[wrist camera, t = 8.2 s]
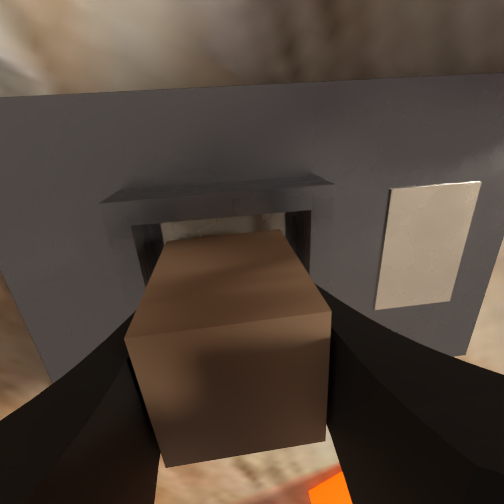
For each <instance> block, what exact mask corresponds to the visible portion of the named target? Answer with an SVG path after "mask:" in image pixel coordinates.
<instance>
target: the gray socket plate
mask: <svg viewBox="0 0 504 504" xmlns="http://www.w3.org/2000/svg"><path fill="white" fill-rule="evenodd" d="M274 229H280V230H281V231H282V233H283V235H284V236H285V238H286V239H287V241H288V242H289V244H290V246H291V247H292V249H293V250H294V252H295V254H296V255H297V257H298V258H299V260H300V262H301V263H302V265H303V266H304V268H305V269H306V271H307V273H308V274H309V276H310V277H311V279H312V281H313V282H314V283H315V284H317V285H318V286H319V287H321V288H322V289H324V290H325V291H327V292H328V293H330V294H331V295H333V296H334V297H336V298H337V299H339V300H340V301H342V302H343V303H345V304H347V305H348V306H350V307H351V308H353V309H355V310H356V311H358V312H360V313H361V314H363V315H365V316H366V317H368V318H370V319H372V320H374V321H375V322H377V323H379V324H381V325H383V326H384V327H386V328H388V329H390V330H392V331H394V332H396V333H398V334H401V335H403V336H405V337H407V338H409V339H411V340H413V341H415V342H418V343H420V344H422V345H425V346H427V347H429V348H432V349H434V350H437V351H439V352H442V353H444V354H447V355H449V356H452V357H453V356H461V355H466V351H467V348H468V345H469V342H470V339H471V336H472V333H473V330H474V327H475V323H476V320H477V317H478V314H479V311H480V308H481V305H482V302H483V299H484V296H485V292H486V289H487V286H488V283H489V280H490V277H491V274H492V271H493V268H494V265H495V261H496V258H497V255H498V252H499V249H500V246H501V243H502V240H503V237H504V72H503V73H483V74H463V75H443V76H422V77H402V78H382V79H362V80H342V81H322V82H302V83H282V84H262V85H242V86H222V87H202V88H182V89H162V90H142V91H122V92H102V93H82V94H62V95H42V96H21V97H1V98H0V271H1V273H2V275H3V277H4V279H5V282H6V284H7V286H8V288H9V290H10V292H11V294H12V297H13V299H14V301H15V303H16V305H17V307H18V309H19V312H20V314H21V316H22V318H23V320H24V322H25V324H26V327H27V329H28V331H29V333H30V335H31V337H32V339H33V342H34V344H35V346H36V348H37V350H38V352H39V354H40V357H41V359H42V361H43V363H44V365H45V367H46V369H47V372H48V374H49V376H50V378H51V380H52V382H53V383H54V382H56V381H57V380H58V379H60V378H61V377H62V376H64V375H65V374H66V373H67V372H69V371H70V370H71V369H72V368H74V367H75V366H76V365H77V364H78V363H80V362H81V361H82V360H83V359H84V358H85V357H86V356H87V355H89V354H90V353H91V352H92V351H93V350H94V349H95V348H97V347H98V346H99V345H100V344H101V343H102V342H103V341H104V340H106V339H107V338H108V337H109V336H110V335H111V334H112V333H113V332H114V331H115V330H116V329H117V328H118V327H119V326H120V325H121V324H122V323H123V322H124V321H125V320H127V319H128V318H129V317H130V316H131V315H132V314H133V313H134V312H135V311H136V310H137V307H138V305H139V303H140V301H141V298H142V296H143V294H144V291H145V289H146V287H147V284H148V282H149V280H150V278H151V275H152V273H153V271H154V268H155V266H156V264H157V261H158V259H159V257H160V255H161V252H162V250H163V248H164V245H165V243H166V241H173V240H182V239H192V238H201V237H210V236H219V235H228V234H238V233H247V232H256V231H265V230H274Z"/></svg>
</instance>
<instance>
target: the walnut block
mask: <svg viewBox="0 0 504 504" xmlns="http://www.w3.org/2000/svg"><path fill="white" fill-rule="evenodd" d="M331 315H332V311H331V309H330V308H329V306H328V304H327V303H326V301H325V300H324V298H323V296H322V295H321V293H320V292H319V290H318V289H317V287H316V285H315V284H314V282H313V281H312V279H311V277H310V276H309V274H308V273H307V271H306V269H305V268H304V266H303V265H302V263H301V262H300V260H299V258H298V257H297V255H296V254H295V252H294V250H293V249H292V247H291V246H290V244H289V242H288V241H287V239H286V238H285V236H284V235H283V233H282V231H281V230H280V229H274V230H265V231H256V232H247V233H238V234H228V235H219V236H210V237H201V238H192V239H182V240H173V241H166V243H165V245H164V248H163V250H162V252H161V255H160V257H159V259H158V261H157V264H156V266H155V268H154V271H153V273H152V275H151V278H150V280H149V282H148V284H147V287H146V289H145V291H144V294H143V296H142V298H141V301H140V303H139V305H138V307H137V310H136V312H135V314H134V317H133V319H132V321H131V324H130V326H129V328H128V330H127V333H126V335H125V337H124V340H125V344H126V347H127V350H128V353H129V356H130V359H131V362H132V365H133V368H134V371H135V374H136V377H137V381H138V384H139V387H140V390H141V393H142V396H143V399H144V402H145V405H146V408H147V411H148V414H149V418H150V421H151V424H152V427H153V430H154V433H155V436H156V439H157V442H158V445H159V448H160V451H161V455H162V458H163V461H164V464H165V467H166V468H168V467H174V466H180V465H186V464H192V463H198V462H204V461H210V460H216V459H222V458H228V457H233V456H239V455H245V454H251V453H257V452H263V451H269V450H275V449H281V448H287V447H293V446H299V445H305V444H311V443H317V442H323V441H325V437H326V416H327V396H328V376H329V356H330V336H331Z"/></svg>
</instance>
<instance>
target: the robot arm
mask: <svg viewBox="0 0 504 504" xmlns="http://www.w3.org/2000/svg"><path fill="white" fill-rule="evenodd" d="M314 284H315V283H314ZM315 285H316V287H317V289H318V290H319V292H320V293H321V295H322V296H323V298H324V300H325V301H326V303H327V304H328V306H329V308H330V309H331V311H332V315H331V336H330V356H329V376H328V396H327V416H326V424H327V427H328V429H329V432H330V434H331V437H332V440H333V444H334V447H335V450H336V453H337V456H338V459H339V462H340V465H341V469H342V472H343V475H344V478H345V482H346V485H347V488H348V491H349V495H350V498H351V501H352V504H504V375H503V374H500V373H496V372H493V371H490V370H487V369H484V368H482V367H479V366H476V365H473V364H470V363H467V362H465V361H462V360H460V359H457V358H454V357H452V356H449V355H447V354H444V353H442V352H439V351H437V350H434V349H432V348H429V347H427V346H425V345H422V344H420V343H418V342H415V341H413V340H411V339H409V338H407V337H405V336H403V335H401V334H398V333H396V332H394V331H392V330H390V329H388V328H386V327H384V326H383V325H381V324H379V323H377V322H375V321H374V320H372V319H370V318H368V317H366V316H365V315H363V314H361V313H360V312H358V311H356V310H355V309H353V308H351V307H350V306H348V305H347V304H345V303H343V302H342V301H340V300H339V299H337V298H336V297H334V296H333V295H331V294H330V293H328V292H327V291H325V290H324V289H322V288H321V287H319V286H318V285H317V284H315ZM135 312H136V311H135ZM135 312H134V313H133V314H132V315H131V316H130V317H129V318H128V319H127V320H125V321H124V322H123V323H122V324H121V325H120V326H119V327H118V328H117V329H116V330H115V331H114V332H113V333H112V334H111V335H110V336H109V337H108V338H107V339H106V340H104V341H103V342H102V343H101V344H100V345H99V346H98V347H97V348H95V349H94V350H93V351H92V352H91V353H90V354H89V355H87V356H86V357H85V358H84V359H83V360H82V361H81V362H80V363H78V364H77V365H76V366H75V367H74V368H72V369H71V370H70V371H69V372H67V373H66V374H65V375H64V376H62V377H61V378H60V379H58V380H57V381H56V382H54V383H53V384H52V385H50V386H49V387H48V388H47V389H45V390H44V391H43V392H41V393H40V394H39V395H37V396H36V397H34V398H33V399H32V400H30V401H29V402H27V403H26V404H24V405H23V406H21V407H20V408H18V409H17V410H15V411H14V412H12V413H11V414H9V415H8V416H7V417H5V418H4V419H2V420H1V421H0V504H154V500H155V491H156V483H157V474H158V466H159V459H160V453H161V451H160V448H159V445H158V442H157V439H156V436H155V433H154V430H153V427H152V424H151V421H150V418H149V414H148V411H147V408H146V405H145V402H144V399H143V396H142V393H141V390H140V387H139V384H138V381H137V377H136V374H135V371H134V368H133V365H132V362H131V359H130V356H129V353H128V350H127V347H126V344H125V340H124V337H125V335H126V333H127V330H128V328H129V326H130V324H131V321H132V319H133V317H134V314H135Z"/></svg>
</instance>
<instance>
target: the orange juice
mask: <svg viewBox="0 0 504 504" xmlns="http://www.w3.org/2000/svg"><path fill="white" fill-rule="evenodd" d="M308 492H309V496H310V500H311V503H312V504H352V501H351V498H350V495H349V491H348V488H347V485H346V482H345V478H344V475H343V472H340V473H338V474H336V475H335V476H333V477H331V478H330V479H328V480H326V481H325V482H323V483H321V484H320V485H318V486H316V487H314V488H313V489H311V490H309V491H308Z"/></svg>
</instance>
